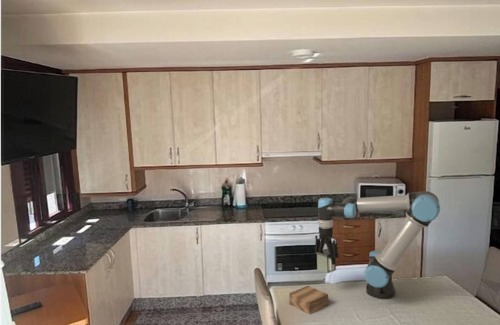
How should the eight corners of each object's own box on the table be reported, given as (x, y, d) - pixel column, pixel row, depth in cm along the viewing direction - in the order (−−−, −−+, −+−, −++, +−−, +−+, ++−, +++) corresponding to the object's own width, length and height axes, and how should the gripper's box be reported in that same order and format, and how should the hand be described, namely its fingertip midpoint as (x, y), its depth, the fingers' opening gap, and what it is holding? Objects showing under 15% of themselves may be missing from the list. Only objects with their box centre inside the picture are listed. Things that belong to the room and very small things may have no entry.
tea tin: (336, 269, 203) (335, 252, 202) (327, 273, 199) (326, 255, 198) (325, 266, 209) (325, 249, 208) (317, 269, 204) (316, 252, 204)
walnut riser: (328, 305, 193) (328, 294, 192) (309, 314, 184) (309, 302, 184) (308, 296, 204) (308, 285, 203) (289, 304, 195) (289, 293, 195)
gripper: (307, 224, 207) (308, 264, 209) (335, 231, 191) (336, 275, 194) (316, 222, 212) (317, 261, 214) (345, 228, 196) (345, 271, 198)
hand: (326, 267), depth 204 cm, fingers closed on tea tin, 7 cm apart
